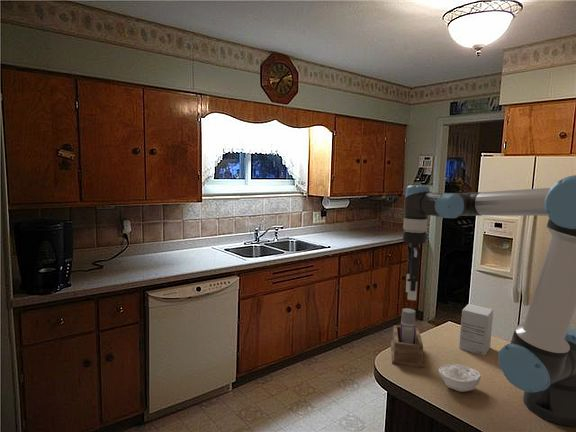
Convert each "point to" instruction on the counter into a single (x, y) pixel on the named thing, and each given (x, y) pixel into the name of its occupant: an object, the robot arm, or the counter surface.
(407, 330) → the container
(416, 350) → the open wooden box
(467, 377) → the cell model
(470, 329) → the supplement box
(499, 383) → the counter surface
